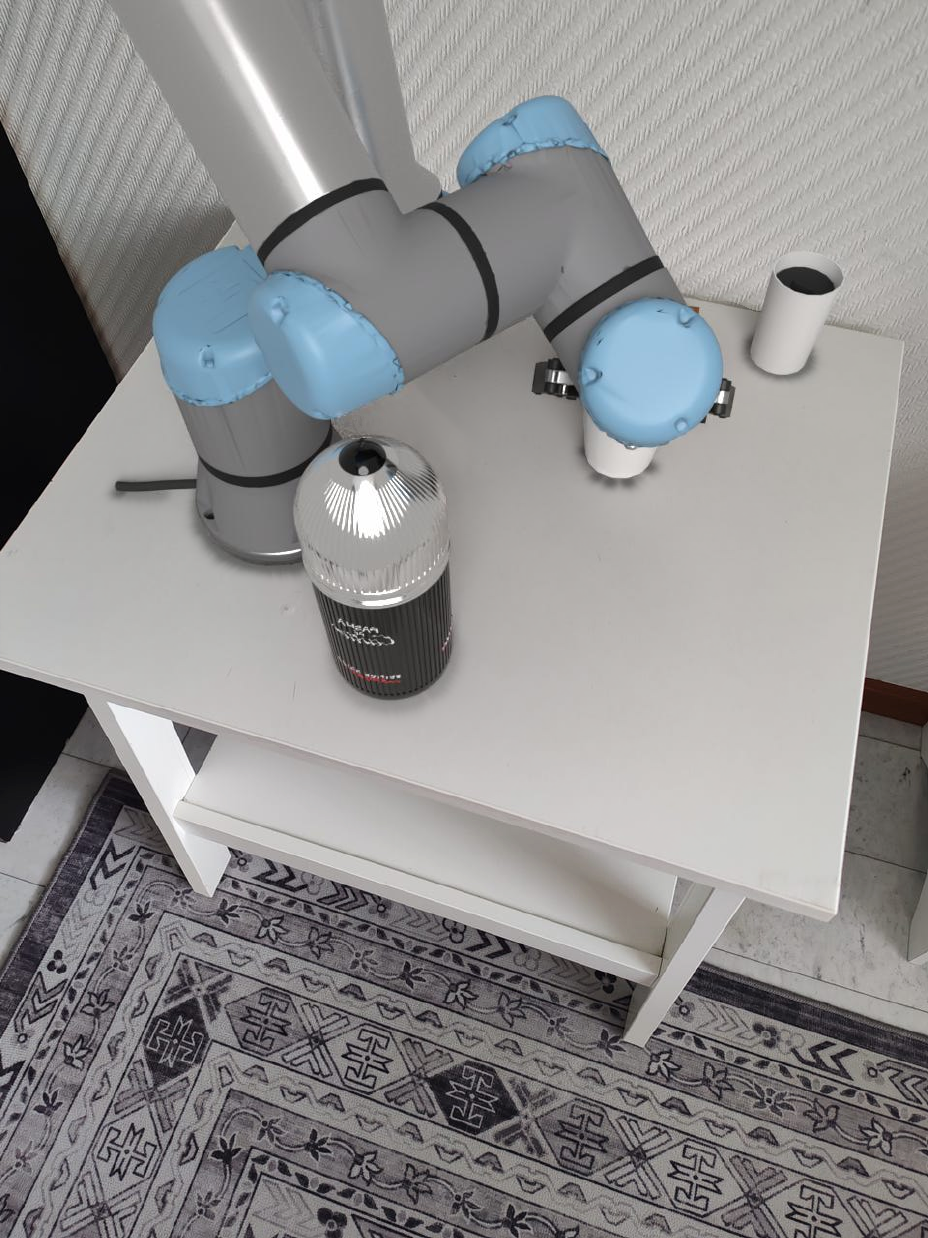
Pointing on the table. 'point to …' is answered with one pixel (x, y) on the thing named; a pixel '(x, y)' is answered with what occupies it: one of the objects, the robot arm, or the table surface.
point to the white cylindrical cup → (795, 310)
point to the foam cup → (612, 453)
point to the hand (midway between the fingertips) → (628, 392)
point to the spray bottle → (378, 563)
